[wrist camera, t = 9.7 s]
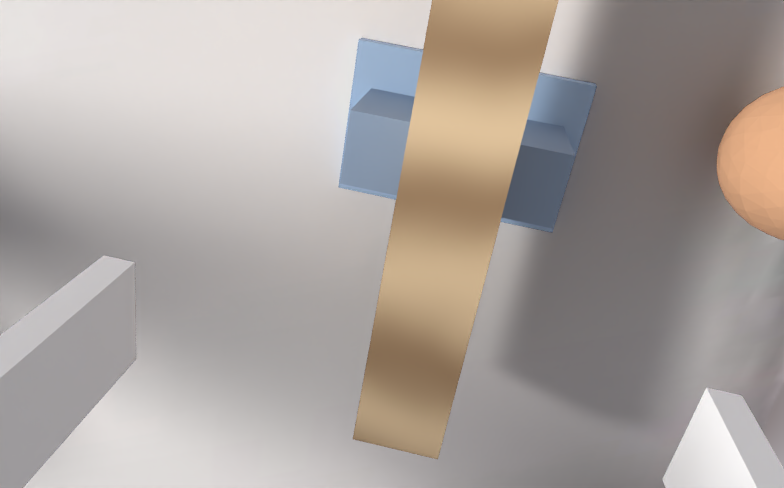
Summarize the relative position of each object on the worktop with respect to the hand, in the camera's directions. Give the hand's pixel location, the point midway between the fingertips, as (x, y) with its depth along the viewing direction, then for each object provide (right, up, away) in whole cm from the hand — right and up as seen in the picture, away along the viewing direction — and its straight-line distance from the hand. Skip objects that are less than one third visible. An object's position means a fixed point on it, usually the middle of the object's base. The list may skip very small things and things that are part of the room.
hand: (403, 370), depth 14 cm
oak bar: (+3, +6, +14) cm, 15 cm away
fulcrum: (+3, +9, +19) cm, 21 cm away
